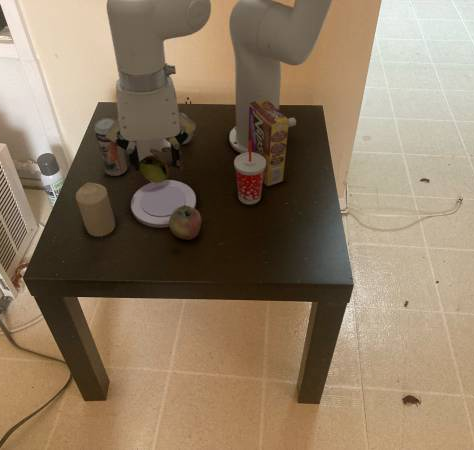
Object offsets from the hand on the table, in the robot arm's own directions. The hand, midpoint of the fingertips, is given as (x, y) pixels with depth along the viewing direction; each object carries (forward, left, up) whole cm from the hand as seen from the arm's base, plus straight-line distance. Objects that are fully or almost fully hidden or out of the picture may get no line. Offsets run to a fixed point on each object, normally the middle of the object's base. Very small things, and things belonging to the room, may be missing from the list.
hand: (156, 164), depth 90 cm
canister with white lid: (+5, -15, -11) cm, 19 cm away
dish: (0, 0, -11) cm, 11 cm away
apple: (-1, +10, -11) cm, 15 cm away
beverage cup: (-17, +6, -11) cm, 21 cm away
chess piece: (-11, -17, -8) cm, 22 cm away
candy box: (-23, +1, -11) cm, 26 cm away
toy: (+2, +2, +1) cm, 3 cm away
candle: (+13, 0, -11) cm, 17 cm away
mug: (-5, -17, -11) cm, 20 cm away
